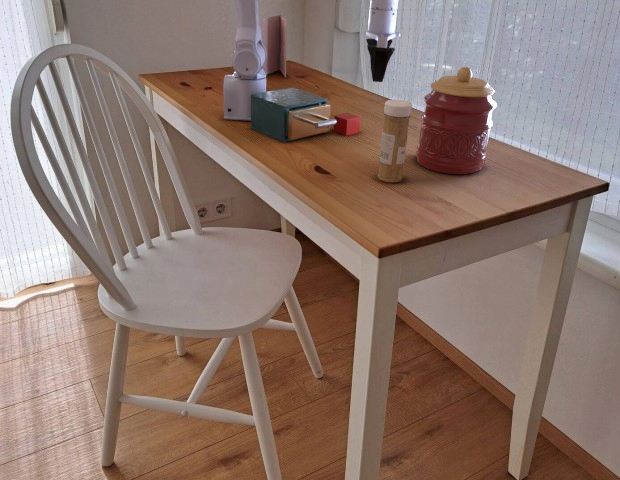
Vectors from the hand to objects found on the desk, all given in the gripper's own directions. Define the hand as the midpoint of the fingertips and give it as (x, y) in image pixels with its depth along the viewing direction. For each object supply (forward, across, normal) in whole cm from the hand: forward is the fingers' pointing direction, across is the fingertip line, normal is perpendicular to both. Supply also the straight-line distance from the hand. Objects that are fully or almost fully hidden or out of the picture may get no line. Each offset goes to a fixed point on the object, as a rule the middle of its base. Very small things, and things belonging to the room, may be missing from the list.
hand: (376, 77), depth 129 cm
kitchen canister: (+10, -24, -14) cm, 30 cm away
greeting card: (+10, +46, +26) cm, 54 cm away
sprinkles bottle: (+10, -34, -2) cm, 35 cm away
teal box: (+10, -9, +18) cm, 23 cm away
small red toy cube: (+10, -7, +6) cm, 14 cm away
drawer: (+9, -12, +15) cm, 21 cm away
